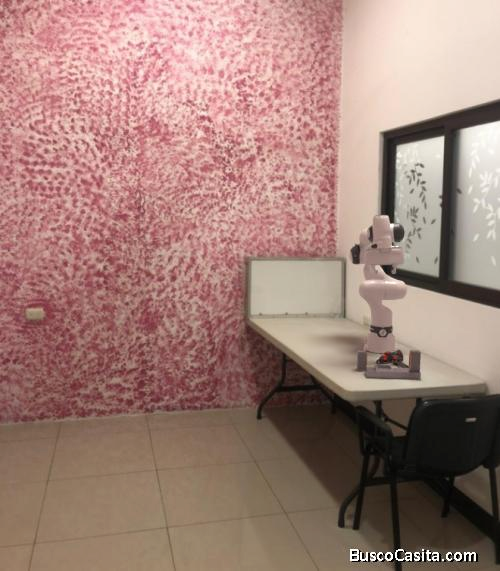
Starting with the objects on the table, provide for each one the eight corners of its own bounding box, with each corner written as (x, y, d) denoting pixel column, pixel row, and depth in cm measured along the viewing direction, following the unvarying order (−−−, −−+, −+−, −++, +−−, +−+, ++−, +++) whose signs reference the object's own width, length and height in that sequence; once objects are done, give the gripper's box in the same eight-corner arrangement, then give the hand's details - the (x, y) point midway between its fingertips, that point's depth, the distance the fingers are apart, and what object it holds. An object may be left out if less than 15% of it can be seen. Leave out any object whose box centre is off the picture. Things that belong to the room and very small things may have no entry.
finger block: (356, 368, 290) (357, 350, 289) (365, 368, 290) (366, 350, 289) (357, 370, 286) (358, 352, 285) (366, 370, 286) (367, 352, 285)
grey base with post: (364, 373, 282) (365, 347, 280) (416, 374, 280) (418, 349, 279) (366, 377, 274) (367, 351, 273) (420, 379, 272) (421, 353, 271)
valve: (369, 363, 309) (396, 357, 312) (390, 379, 284) (420, 373, 287) (368, 351, 308) (395, 346, 311) (389, 366, 283) (419, 360, 286)
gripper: (399, 247, 305) (401, 274, 304) (361, 247, 302) (363, 275, 300) (405, 244, 299) (407, 272, 298) (366, 245, 296) (368, 273, 294)
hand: (384, 273), depth 299 cm, fingers open, 8 cm apart
